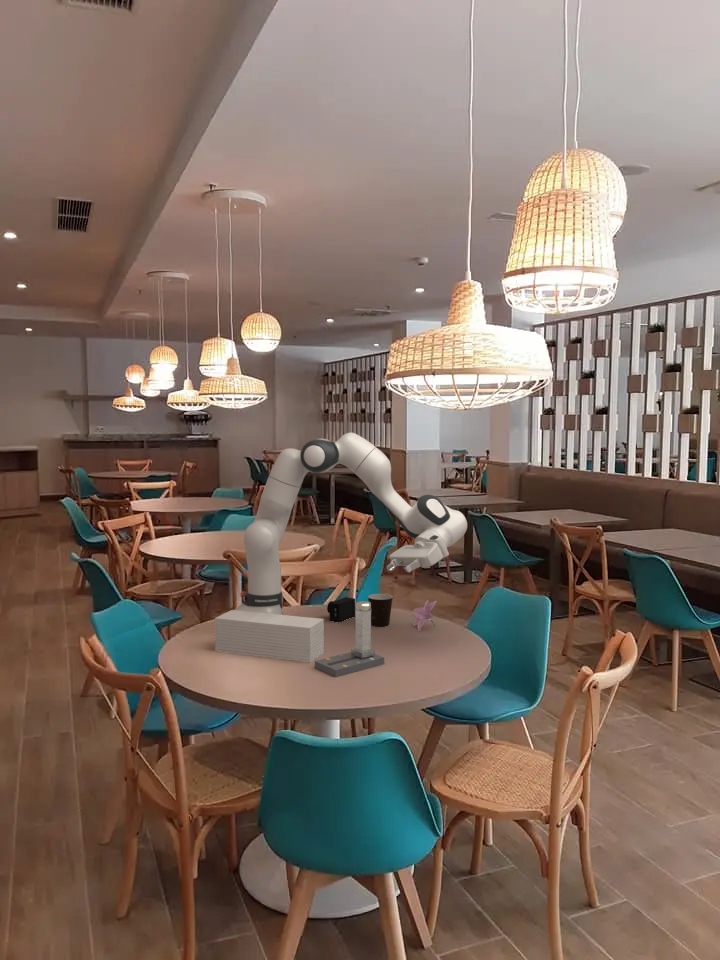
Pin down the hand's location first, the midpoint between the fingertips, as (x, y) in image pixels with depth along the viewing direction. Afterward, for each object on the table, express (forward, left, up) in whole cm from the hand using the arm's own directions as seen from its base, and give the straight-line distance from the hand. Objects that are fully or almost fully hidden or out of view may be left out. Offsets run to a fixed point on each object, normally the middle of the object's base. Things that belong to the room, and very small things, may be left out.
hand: (397, 569), depth 226 cm
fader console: (-16, -8, -26) cm, 32 cm away
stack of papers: (-38, +10, -27) cm, 48 cm away
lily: (+17, +27, -27) cm, 41 cm away
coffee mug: (+2, +32, -27) cm, 42 cm away
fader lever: (-12, -6, -24) cm, 27 cm away
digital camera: (-10, +44, -27) cm, 52 cm away
